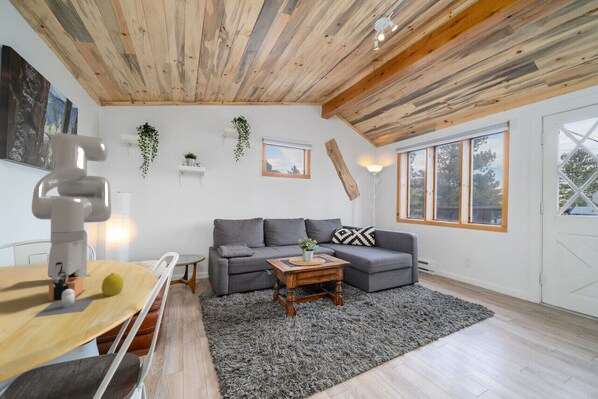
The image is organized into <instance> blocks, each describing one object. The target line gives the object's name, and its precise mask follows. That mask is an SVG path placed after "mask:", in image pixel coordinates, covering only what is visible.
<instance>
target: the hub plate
mask: <svg viewBox="0 0 598 399" xmlns="http://www.w3.org/2000/svg"><path fill="white" fill-rule="evenodd" d="M74 293H75V292H74V290H73V289H66V290H65V291H63V293H62V300H56V301H52V302H51V304H49V305H48V306H46V307H45V308H44V309H42V310H41V311H40V312H38V313H37V314H35V315H34V316H33V318H38V317H39V318H41V317H47V316H54V315H55V316H56V315H62V314H71V313H79V312H84V311H85V310H86V309H87V308H88V307H89V306H90V305H91V304H92V302H94V301H95V299H97V296H96V297H87V298H78V299H77V298H74Z"/></svg>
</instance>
